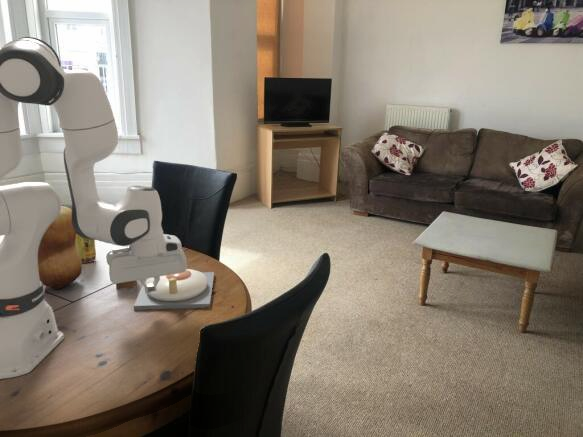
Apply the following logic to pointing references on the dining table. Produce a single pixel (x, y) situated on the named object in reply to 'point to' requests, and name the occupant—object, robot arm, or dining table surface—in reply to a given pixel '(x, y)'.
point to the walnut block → (126, 285)
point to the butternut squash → (59, 253)
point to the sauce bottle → (85, 248)
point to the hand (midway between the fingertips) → (150, 291)
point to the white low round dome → (179, 286)
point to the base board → (196, 302)
